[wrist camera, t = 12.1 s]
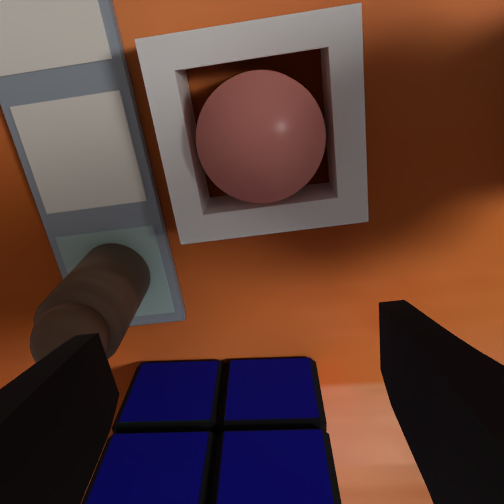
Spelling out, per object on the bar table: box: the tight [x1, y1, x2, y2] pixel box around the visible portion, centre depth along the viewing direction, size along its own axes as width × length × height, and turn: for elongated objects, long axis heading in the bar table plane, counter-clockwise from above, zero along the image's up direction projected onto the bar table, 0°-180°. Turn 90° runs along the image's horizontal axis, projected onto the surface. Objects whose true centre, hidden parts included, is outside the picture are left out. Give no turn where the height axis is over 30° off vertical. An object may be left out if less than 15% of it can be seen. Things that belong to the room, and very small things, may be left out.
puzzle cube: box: [82, 358, 341, 504], centre depth 21 cm, size 10×10×10 cm
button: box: [196, 69, 326, 203], centre depth 17 cm, size 5×5×3 cm
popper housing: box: [135, 3, 369, 245], centre depth 18 cm, size 8×8×2 cm
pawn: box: [30, 243, 151, 363], centre depth 18 cm, size 3×3×7 cm
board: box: [0, 0, 186, 326], centre depth 19 cm, size 6×18×1 cm, turn 8°
